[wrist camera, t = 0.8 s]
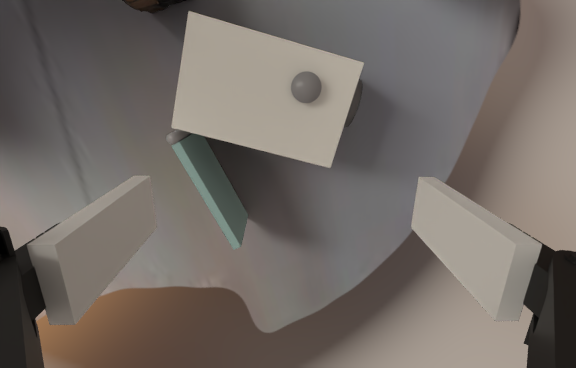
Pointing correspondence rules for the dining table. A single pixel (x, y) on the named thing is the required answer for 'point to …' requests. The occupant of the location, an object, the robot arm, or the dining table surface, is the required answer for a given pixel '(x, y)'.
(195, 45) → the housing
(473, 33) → the dining table surface
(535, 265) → the robot arm
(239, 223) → the side door
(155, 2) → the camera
